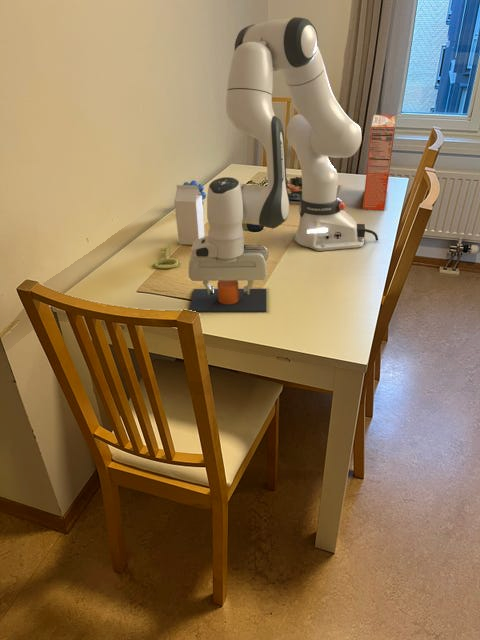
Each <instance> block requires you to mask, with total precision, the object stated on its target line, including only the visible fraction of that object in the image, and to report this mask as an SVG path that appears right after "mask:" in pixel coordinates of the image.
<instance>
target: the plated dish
mask: <svg viewBox="0 0 480 640" xmlns="http://www.w3.org/2000/svg"><path fill="white" fill-rule="evenodd" d="M264 181H268V179H267V176H264ZM286 182H287V191H288V198H289V204H293V205H300V198H301V197H302V175H300V176H295V177H293V178H290V177H289V176H288V175H286ZM339 188H340V185H338V186H337V191H338V190H339Z"/></svg>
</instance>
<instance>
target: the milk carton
mask: <svg viewBox="0 0 480 640" xmlns="http://www.w3.org/2000/svg"><path fill="white" fill-rule="evenodd" d="M203 207H204V205H203V206H202V194H201V193H200V191H199V189H198V186H192V185H183V184H176V190H175V196H174V209H175V219H176V226H177V227H176V230H177V241H178V245H189V246H190V245H191V246H192V245H193V243H194V241H195V240H197V239H200V238H203V237H206V235H205V223H204V221H205V220H204V208H203Z"/></svg>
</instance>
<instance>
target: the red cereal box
mask: <svg viewBox="0 0 480 640" xmlns="http://www.w3.org/2000/svg"><path fill="white" fill-rule="evenodd" d="M395 130H396V115H395V114H373V117H372V121H371V126H370V134H369V146H368V154H367V164H366V174H365V184H364V193H363V201H362V202H363V203H362V210H371V211H373V210H374V211H386V210H385V209H386V200H387V194H388V185H389V178H390V170H391V162H392V154H393V146H394V139H395V132H396V131H395Z"/></svg>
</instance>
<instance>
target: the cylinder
mask: <svg viewBox="0 0 480 640" xmlns="http://www.w3.org/2000/svg"><path fill="white" fill-rule="evenodd" d="M216 285H217V289H218V301H219V302H220V303H222V304H227V305H229V304H234V303H236V302H238V300H239V289H240V288H239V281H217V284H216Z"/></svg>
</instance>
